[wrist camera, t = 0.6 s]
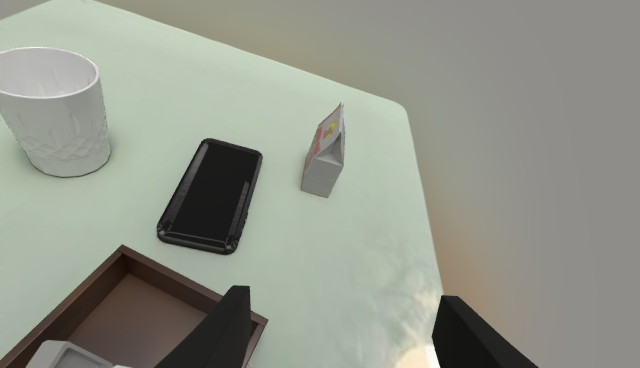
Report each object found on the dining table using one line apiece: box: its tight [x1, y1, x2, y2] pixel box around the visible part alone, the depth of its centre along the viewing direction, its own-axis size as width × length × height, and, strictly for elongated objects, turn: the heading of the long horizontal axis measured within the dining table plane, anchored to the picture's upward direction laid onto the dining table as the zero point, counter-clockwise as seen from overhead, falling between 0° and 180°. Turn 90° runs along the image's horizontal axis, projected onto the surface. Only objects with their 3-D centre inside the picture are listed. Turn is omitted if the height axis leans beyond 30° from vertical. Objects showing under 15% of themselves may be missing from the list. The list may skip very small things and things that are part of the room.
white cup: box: [0, 47, 111, 177], centre depth 30 cm, size 8×8×10 cm
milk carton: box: [301, 103, 345, 198], centre depth 39 cm, size 4×7×10 cm, turn 174°
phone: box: [157, 138, 263, 254], centre depth 35 cm, size 8×1×15 cm
